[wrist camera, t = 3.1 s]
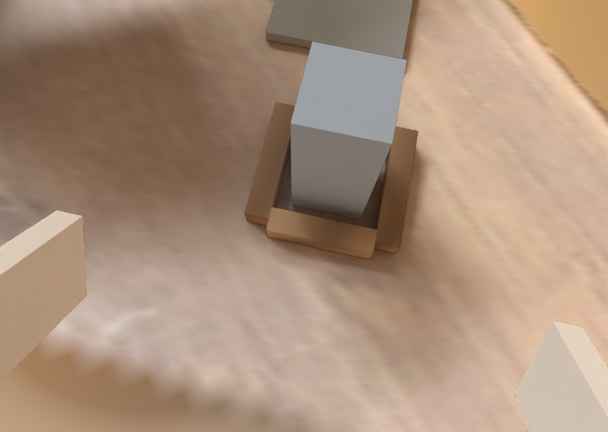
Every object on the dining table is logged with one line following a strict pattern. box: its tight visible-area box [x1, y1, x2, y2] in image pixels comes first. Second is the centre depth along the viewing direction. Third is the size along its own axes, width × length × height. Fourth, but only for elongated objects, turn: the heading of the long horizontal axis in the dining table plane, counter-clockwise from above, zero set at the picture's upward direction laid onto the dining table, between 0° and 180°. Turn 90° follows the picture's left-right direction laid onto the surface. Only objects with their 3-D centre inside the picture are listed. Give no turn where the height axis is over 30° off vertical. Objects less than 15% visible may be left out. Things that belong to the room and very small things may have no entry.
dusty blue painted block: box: [291, 42, 407, 219], centre depth 25 cm, size 4×4×10 cm
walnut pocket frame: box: [245, 102, 418, 259], centre depth 29 cm, size 10×10×2 cm
